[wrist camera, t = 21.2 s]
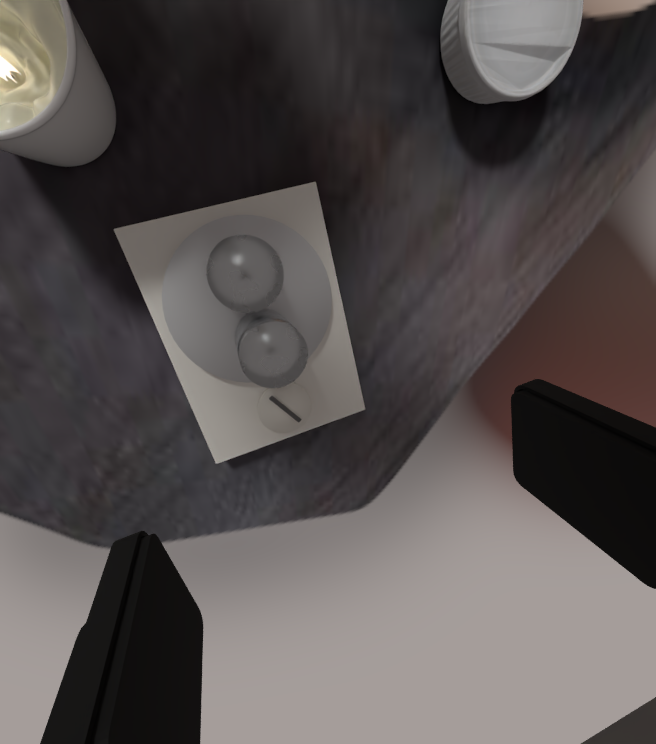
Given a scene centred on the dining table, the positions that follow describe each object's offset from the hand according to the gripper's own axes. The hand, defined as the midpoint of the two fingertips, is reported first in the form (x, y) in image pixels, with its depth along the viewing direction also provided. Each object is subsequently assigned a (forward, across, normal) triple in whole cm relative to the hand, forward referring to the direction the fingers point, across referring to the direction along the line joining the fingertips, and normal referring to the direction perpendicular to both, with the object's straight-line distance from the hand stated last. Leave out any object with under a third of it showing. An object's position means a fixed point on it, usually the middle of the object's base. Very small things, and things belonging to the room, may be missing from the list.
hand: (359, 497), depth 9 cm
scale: (+28, 0, +2) cm, 28 cm away
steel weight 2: (+24, 0, +2) cm, 24 cm away
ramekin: (+29, -27, -17) cm, 43 cm away
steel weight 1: (+24, 0, -4) cm, 25 cm away
